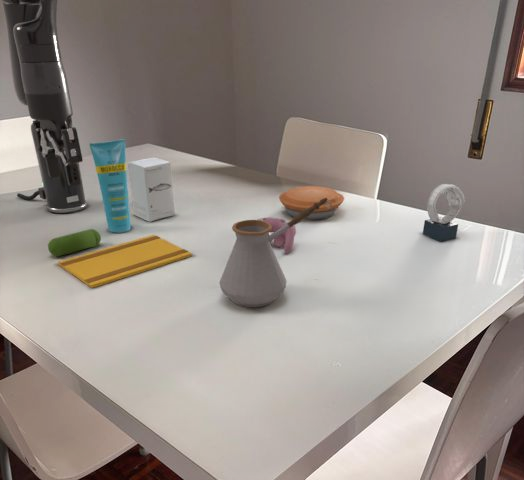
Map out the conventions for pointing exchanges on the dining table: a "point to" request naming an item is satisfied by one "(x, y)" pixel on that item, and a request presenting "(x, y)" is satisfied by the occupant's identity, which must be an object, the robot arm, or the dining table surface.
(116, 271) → the towel
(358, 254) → the dining table surface
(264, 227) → the coffee pot
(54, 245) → the pickle
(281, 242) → the video game controller
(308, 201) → the pie
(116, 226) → the tube
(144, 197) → the white packaging box
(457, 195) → the ring sculpture on base
